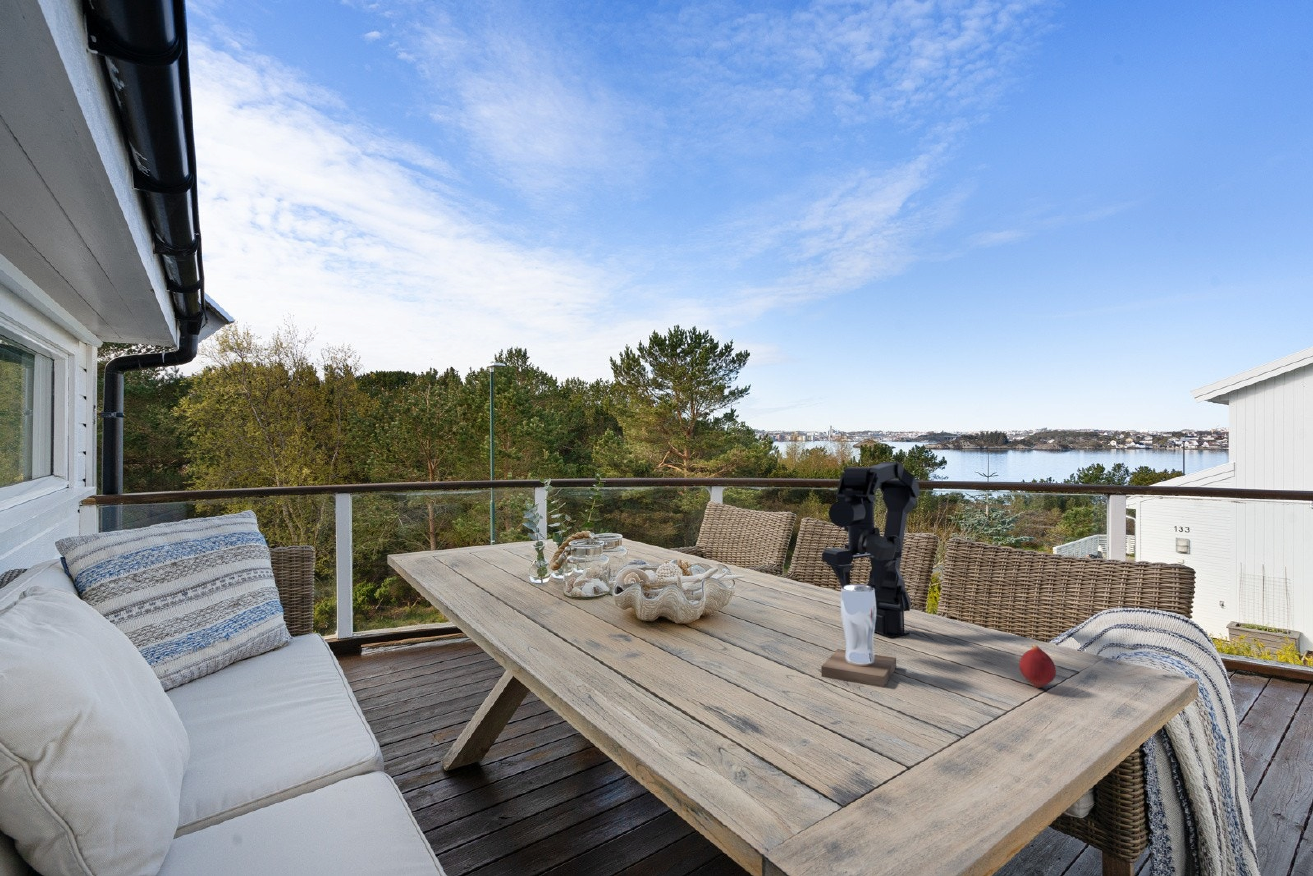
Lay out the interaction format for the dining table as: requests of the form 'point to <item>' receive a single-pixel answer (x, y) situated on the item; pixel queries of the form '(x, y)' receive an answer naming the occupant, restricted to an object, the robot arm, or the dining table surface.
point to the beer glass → (858, 623)
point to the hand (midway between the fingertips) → (862, 591)
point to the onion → (1037, 667)
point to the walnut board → (859, 669)
